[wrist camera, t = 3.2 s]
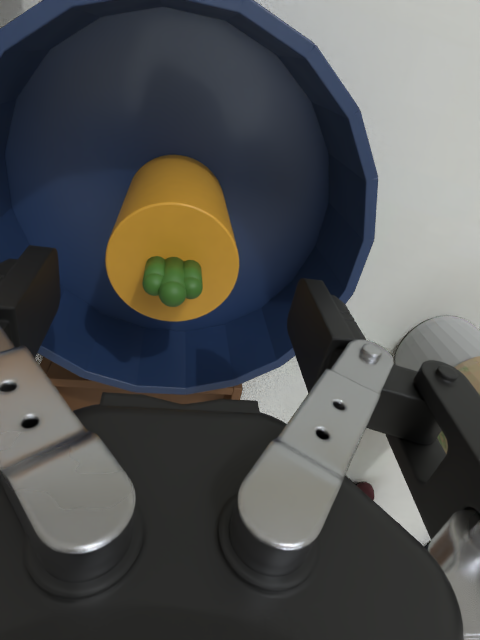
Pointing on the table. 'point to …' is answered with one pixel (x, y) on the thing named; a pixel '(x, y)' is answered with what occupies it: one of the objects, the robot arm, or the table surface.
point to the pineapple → (173, 242)
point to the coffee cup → (443, 349)
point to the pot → (187, 140)
